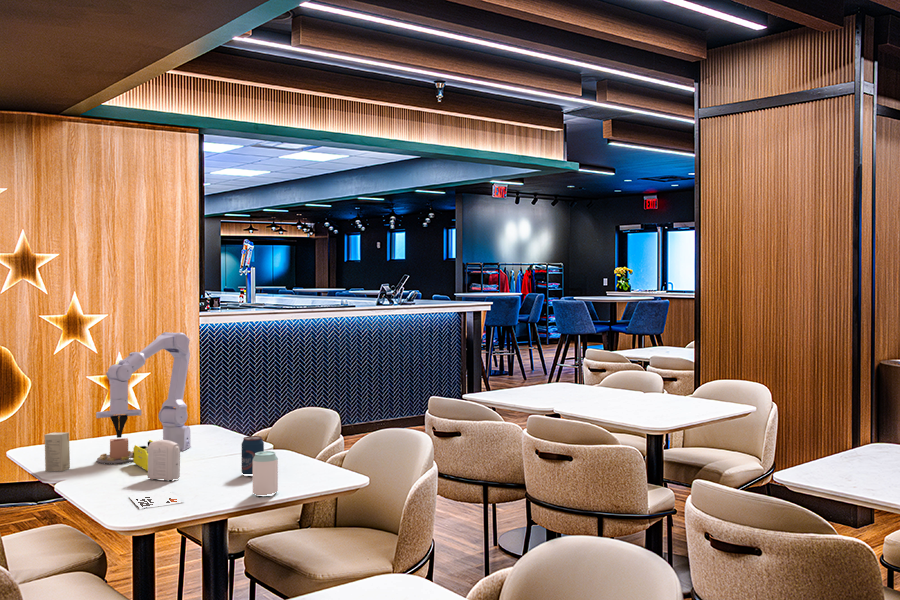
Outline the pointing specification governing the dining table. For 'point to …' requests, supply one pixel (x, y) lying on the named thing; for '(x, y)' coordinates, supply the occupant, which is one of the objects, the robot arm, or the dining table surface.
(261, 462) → the can
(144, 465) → the yellow toy chassis
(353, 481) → the dining table surface
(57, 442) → the skincare box
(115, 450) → the pink square tube
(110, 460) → the hub
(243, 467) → the soda can
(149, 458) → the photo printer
